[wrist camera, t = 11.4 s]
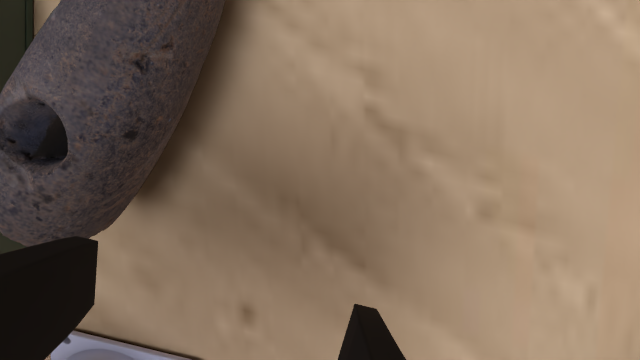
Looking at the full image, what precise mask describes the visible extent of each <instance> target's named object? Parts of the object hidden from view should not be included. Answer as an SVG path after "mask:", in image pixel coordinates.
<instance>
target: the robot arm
mask: <svg viewBox="0 0 640 360" xmlns="http://www.w3.org/2000/svg"><path fill="white" fill-rule="evenodd" d="M97 251H98V241H95V240H91V239H87V238H83V237H79V236H73V237H67V238H62V239H58V240H54V241H49V242H45V243H41V244H37V245H33V246H30V247H26V248H22V249H18V250H14V251H10V252H6V253H3V254H0V360H44V359H45V358H46V357H47V356H49V355H50V354H51V360H192V359H188V358H184V357H180V356H176V355H172V354H167V353H163V352H159V351H155V350H151V349H147V348H143V347H139V346H135V345H130V344H126V343H122V342H118V341H114V340H110V339H106V338H102V337H98V336H93V335H89V334H85V333H81V332H77V331H73V330H74V329H75V327H76V326H77V325H78V324H79V323H80V322H81V320H82V319H83V318H84V317H85V315H86V314H87V313H88V311H89V310H90V309H91V308H92V306H93V305H94V299H95V283H96V267H97ZM338 360H406V359H405V357H404V356H403V354H402V352H401V351H400V349H399V347H398V346H397V344H396V342H395V340H394V339H393V337H392V335H391V333H390V332H389V330H388V328H387V326H386V325H385V323H384V321H383V319H382V318H381V316H380V314H379V312H378V311H377V309H374V308H370V307H366V306H362V305H358V304H354V308H353V311H352V314H351V318H350V321H349V324H348V327H347V331H346V334H345V337H344V341H343V344H342V347H341V350H340V354H339V357H338Z"/></svg>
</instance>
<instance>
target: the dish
mask: <svg viewBox="0 0 640 360" xmlns="http://www.w3.org/2000/svg"><path fill="white" fill-rule="evenodd" d="M32 41H33V0H0V94H1V91H2V89H3V88H4V86H5V84H6V83H7V81H8V79H9V78H10V76H11V75H12V73H13V72H14V70H15V68H16V67H17V65H18V63H19V62H20V60H21V59H22V57H23V55H24V54H25V52H26V50H27V49H28V47H29V46H30V44H31V42H32ZM22 248H26V246H25V245H22V244H21V243H19V242H15V241H13V240H10V239H9V238H8V237H6V236H3V234H2V233H1V232H0V254H3V253H6V252H10V251H14V250H18V249H22Z"/></svg>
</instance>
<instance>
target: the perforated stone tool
mask: <svg viewBox="0 0 640 360" xmlns="http://www.w3.org/2000/svg"><path fill="white" fill-rule="evenodd" d="M224 3H225V0H61V1H60V3H59V4H58V6H57V7H56V8H55V9H54V10H53V11H52V13H51V14H50V16H49V17H48V18H47V20H46V22H45V23H44V25H43V26H42V28H41V29H40V30H39V32H38V33H37V35H36V36H35V38H34V39H33V41H32V42H31V44H30V46H29V47H28V49H27V50H26V52H25V54H24V55H23V57H22V59H21V60H20V62H19V63H18V65H17V67H16V68H15V70H14V72H13V73H12V75H11V76H10V78H9V79H8V81H7V83H6V84H5V86H4V88H3V89H2V91H1V94H0V232H1V233H2V234H3V236H6V237H8V238H9V239H10V240H13V241H15V242H19V243H21V244H22V245H25V246H26V247H30V246H33V245H37V244H41V243H45V242H49V241H54V240H58V239H62V238H67V237H73V236H79V237H83V238H87V239H88V238H90V237H91V236H95V235H96V234H98V233H100V232H101V231H103V230H105V229H106V228H108V227H109V226H110V225H111V224H113V222H114V221H115V220H116V219H117V218H118V217H119V216H120V215H121V213H122V212H123V211H124V210H125V208H126V207H127V206H128V204H129V203H130V202H131V200H132V199H133V198H134V196H135V195H136V194H137V192H138V191H139V189H140V188H141V186H142V185H143V183H144V181H145V180H146V179H147V177H148V175H149V174H150V172H151V171H152V169H153V167H154V166H155V164H156V162H157V161H158V159H159V157H160V156H161V154H162V152H163V150H164V149H165V147H166V145H167V143H168V141H169V140H170V138H171V136H172V134H173V132H174V131H175V128H176V126H177V124H178V122H179V120H180V118H181V116H182V114H183V112H184V110H185V108H186V106H187V103H188V101H189V98H190V96H191V93H192V91H193V89H194V87H195V84H196V82H197V79H198V76H199V73H200V71H201V69H202V66H203V63H204V61H205V59H206V56H207V54H208V52H209V49H210V46H211V44H212V41H213V39H214V36H215V33H216V30H217V27H218V24H219V21H220V18H221V15H222V11H223V7H224Z"/></svg>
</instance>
